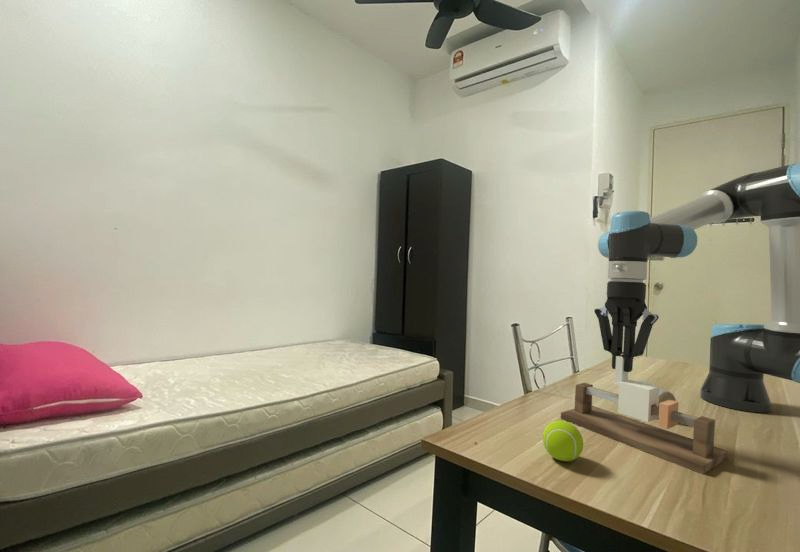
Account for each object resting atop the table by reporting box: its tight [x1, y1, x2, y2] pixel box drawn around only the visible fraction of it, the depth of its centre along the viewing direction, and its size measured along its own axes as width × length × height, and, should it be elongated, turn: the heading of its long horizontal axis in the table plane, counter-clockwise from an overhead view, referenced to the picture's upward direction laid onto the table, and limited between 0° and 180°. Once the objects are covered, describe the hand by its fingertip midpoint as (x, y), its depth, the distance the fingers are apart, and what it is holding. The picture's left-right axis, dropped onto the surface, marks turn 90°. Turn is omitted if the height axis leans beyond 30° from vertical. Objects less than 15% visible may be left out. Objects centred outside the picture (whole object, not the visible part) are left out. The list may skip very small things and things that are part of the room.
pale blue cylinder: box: [637, 380, 677, 419], centre depth 96 cm, size 11×8×8 cm
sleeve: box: [617, 379, 660, 423], centre depth 81 cm, size 5×6×7 cm
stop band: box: [657, 400, 679, 430], centre depth 76 cm, size 5×2×5 cm, turn 124°
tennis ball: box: [542, 419, 584, 462], centre depth 70 cm, size 7×7×7 cm
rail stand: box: [560, 382, 728, 475], centre depth 81 cm, size 12×28×8 cm, turn 33°
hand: (621, 384), depth 84 cm, fingers closed
